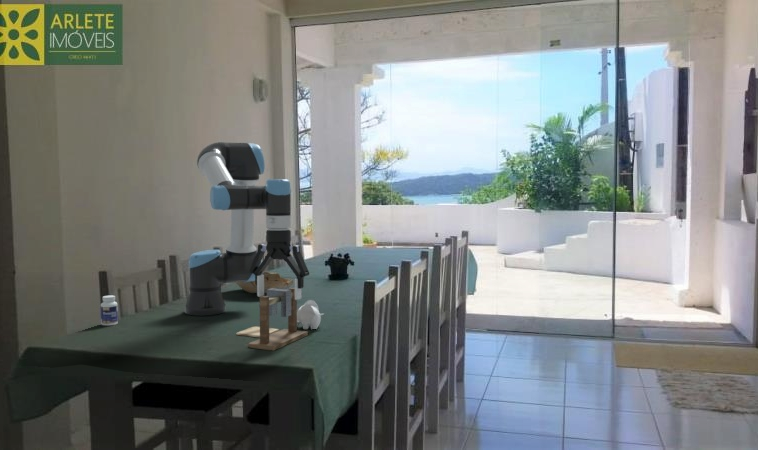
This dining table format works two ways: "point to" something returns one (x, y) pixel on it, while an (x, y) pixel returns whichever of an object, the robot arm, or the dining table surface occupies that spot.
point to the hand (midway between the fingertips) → (279, 297)
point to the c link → (285, 301)
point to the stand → (280, 336)
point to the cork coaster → (255, 331)
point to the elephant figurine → (309, 315)
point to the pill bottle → (109, 311)
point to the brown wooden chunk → (267, 283)
